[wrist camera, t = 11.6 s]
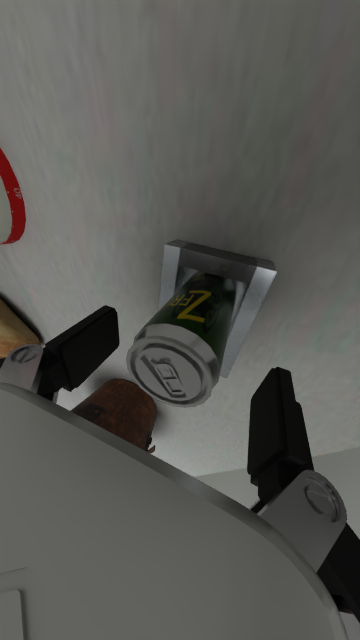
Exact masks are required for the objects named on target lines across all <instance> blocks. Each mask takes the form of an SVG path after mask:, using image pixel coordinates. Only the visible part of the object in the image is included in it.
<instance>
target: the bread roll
mask: <svg viewBox="0 0 360 640" xmlns="http://www.w3.org/2000/svg"><path fill="white" fill-rule="evenodd" d="M28 344H37V345H40V341H39V339H38V337H37V336H36V335H35V334H34V333H33V332H32V331H31V330H30V329H29V328H28V327H27V326H26V325H25V324H24V323H23V322H22V321H21V320H20V319H19V318H18V317H17V316H16V315H15V314H14V313H13V312H12V310H11V309H10V308H9V307H8V306H7V305H6V304H5V303H4V302H3V301H2V300H1V299H0V358H6V357H7V356H8V354H9V353H10V352H11V351H13V350H14V349H16V348H18V347H20V346H23V345H28Z"/></svg>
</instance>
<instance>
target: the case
mask: <svg viewBox="0 0 360 640" xmlns="http://www.w3.org/2000/svg"><path fill="white" fill-rule="evenodd" d="M71 412H73V413H74V414H76V415H78V416H80V417H82V418H84V419H86V420H88V421H90V422H92V423H93V424H95V425H97V426H99V427H101V428H103V429H105V430H107V431H108V432H110V433H112V434H114V435H116V436H118V437H120V438H122V439H123V440H125V441H127V442H129V443H131V444H133V445H135V446H136V447H138V448H140V449H142V450H144V451H146V452H148V453H152V452H154V451H155V445H154V446H153V447H152V448H150V449H149V450H148V448H149V445H150V444H151V442H152V438H151V434H152V430H153V426H154V423H155V419H156V413H157V412H156V407H155V404H154V402H153V400H152V399H151V397H150V396H149V395H148V394H147V393H146V392H145V391H144V390H142V389H141V388H140V387H138V386H137V385H135V384H133V383H131V382H128V381H125V380H121V379H113V380H110V381H108V382H107V383H105V384H104V385H103V386H102V387H100V388H99V389H98V390H97V391H95V392H94V393H93V394H91V395H90V396H89V397H88V398H86V399H85V400H84V401H82V402H81V403H80V404H79V405H77V406H76V407H75V408H73V409H72V410H71Z"/></svg>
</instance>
